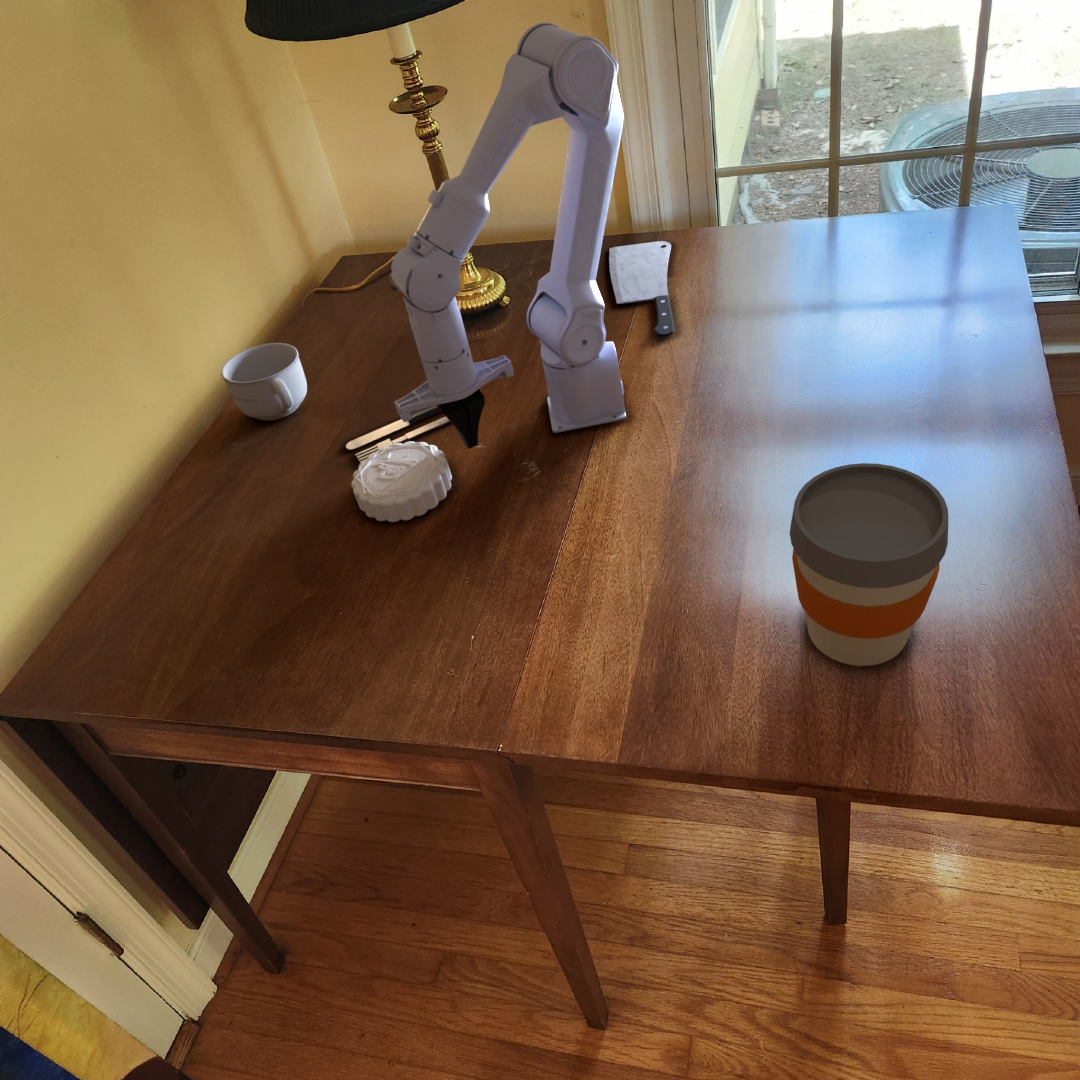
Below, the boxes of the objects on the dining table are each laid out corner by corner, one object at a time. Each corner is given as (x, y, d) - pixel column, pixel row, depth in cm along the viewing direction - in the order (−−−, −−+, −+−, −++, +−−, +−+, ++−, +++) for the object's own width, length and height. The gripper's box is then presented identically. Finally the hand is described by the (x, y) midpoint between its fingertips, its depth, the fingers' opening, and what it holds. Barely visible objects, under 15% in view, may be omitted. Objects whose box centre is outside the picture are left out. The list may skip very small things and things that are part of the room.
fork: (464, 408, 122) (463, 405, 121) (471, 416, 120) (470, 414, 120) (355, 455, 118) (354, 453, 118) (361, 464, 116) (360, 462, 116)
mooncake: (411, 448, 117) (404, 426, 115) (472, 480, 110) (465, 457, 108) (339, 499, 112) (330, 478, 109) (398, 537, 105) (389, 514, 102)
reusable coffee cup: (843, 703, 78) (854, 587, 68) (761, 612, 87) (760, 497, 77) (960, 644, 81) (988, 523, 70) (869, 561, 89) (882, 443, 79)
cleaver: (608, 344, 127) (679, 335, 125) (608, 341, 126) (679, 332, 125) (609, 249, 148) (670, 241, 146) (609, 246, 147) (670, 238, 146)
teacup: (238, 403, 133) (215, 357, 128) (307, 377, 135) (288, 330, 130) (253, 451, 123) (229, 403, 118) (328, 422, 125) (308, 374, 120)
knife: (458, 396, 124) (456, 390, 123) (463, 402, 123) (462, 397, 122) (344, 445, 120) (342, 440, 120) (349, 452, 119) (346, 447, 118)
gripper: (486, 312, 107) (508, 405, 116) (374, 358, 103) (406, 450, 113) (511, 336, 102) (532, 431, 111) (395, 385, 98) (426, 479, 108)
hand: (470, 443), depth 111 cm, fingers closed
